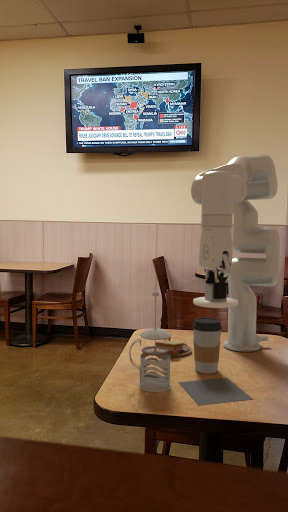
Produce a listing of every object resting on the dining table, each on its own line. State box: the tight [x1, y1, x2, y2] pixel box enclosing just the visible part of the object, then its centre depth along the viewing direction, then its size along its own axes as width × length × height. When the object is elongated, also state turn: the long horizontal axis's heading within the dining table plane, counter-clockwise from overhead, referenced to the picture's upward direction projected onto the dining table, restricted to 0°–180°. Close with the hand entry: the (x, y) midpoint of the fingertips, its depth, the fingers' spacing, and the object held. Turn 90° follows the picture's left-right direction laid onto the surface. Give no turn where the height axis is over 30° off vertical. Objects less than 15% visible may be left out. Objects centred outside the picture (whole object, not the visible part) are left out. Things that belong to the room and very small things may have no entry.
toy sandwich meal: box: [156, 335, 193, 358], centre depth 129 cm, size 12×14×5 cm
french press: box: [128, 290, 173, 393], centre depth 99 cm, size 10×12×25 cm
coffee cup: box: [192, 317, 222, 375], centre depth 110 cm, size 8×8×15 cm
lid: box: [192, 283, 238, 309], centre depth 95 cm, size 11×11×5 cm
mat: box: [178, 377, 254, 406], centre depth 96 cm, size 14×14×1 cm
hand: (215, 296), depth 95 cm, fingers closed on lid, 4 cm apart
